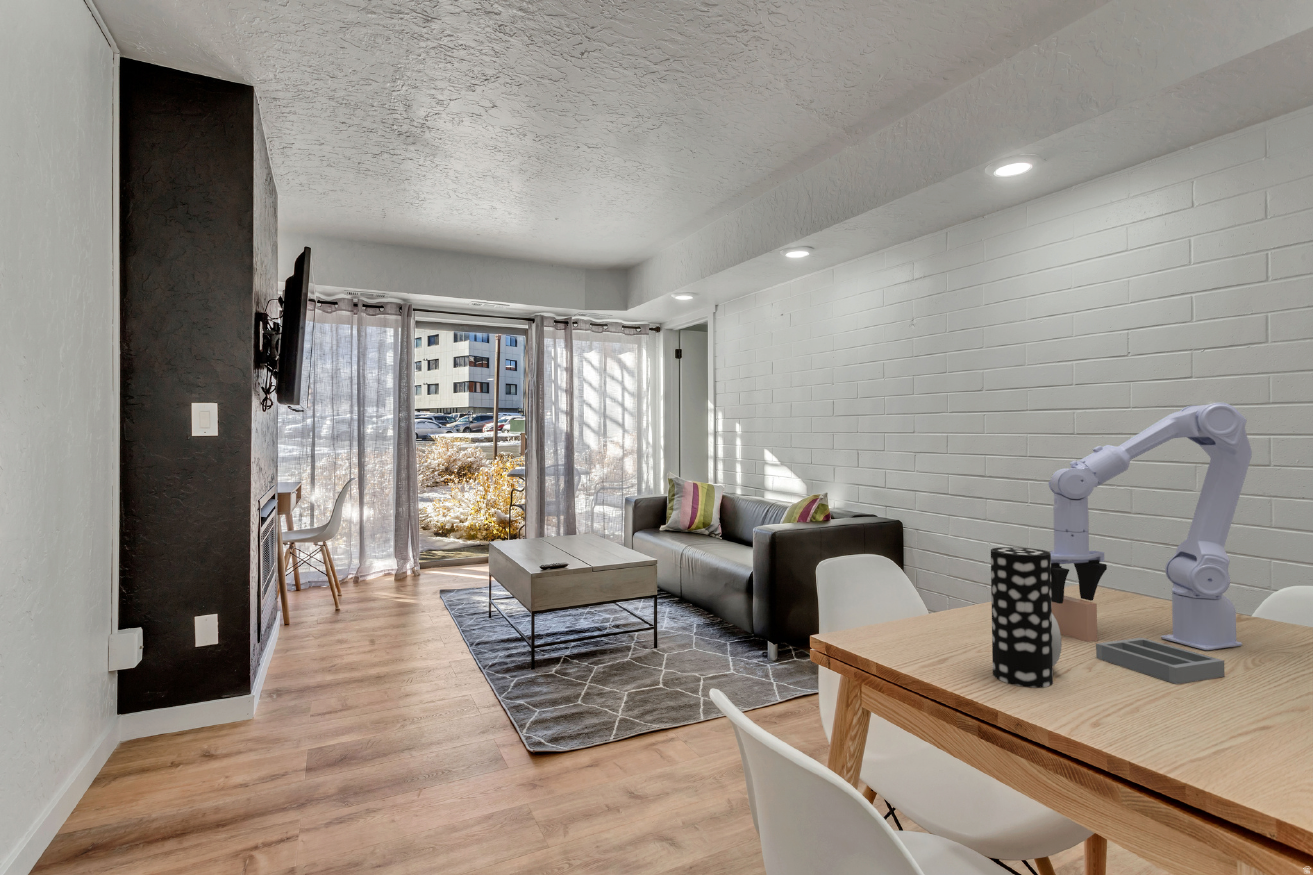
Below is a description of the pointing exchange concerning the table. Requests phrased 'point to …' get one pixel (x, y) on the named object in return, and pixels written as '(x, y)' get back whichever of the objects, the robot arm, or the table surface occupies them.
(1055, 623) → the donut
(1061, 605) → the brick block
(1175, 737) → the table surface
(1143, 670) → the dish rack
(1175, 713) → the table surface
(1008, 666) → the spotted tube
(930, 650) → the table surface
